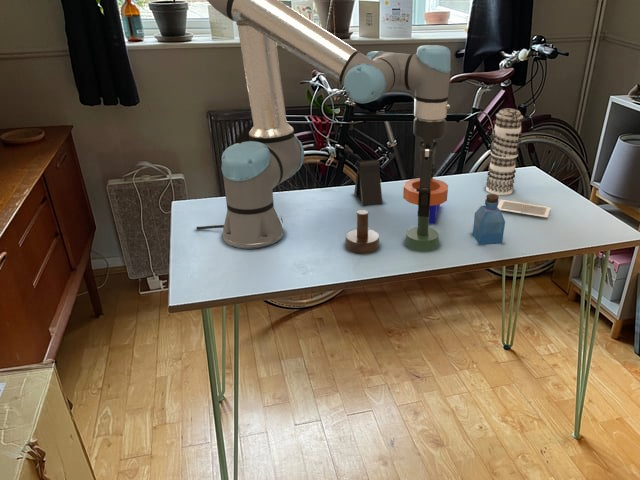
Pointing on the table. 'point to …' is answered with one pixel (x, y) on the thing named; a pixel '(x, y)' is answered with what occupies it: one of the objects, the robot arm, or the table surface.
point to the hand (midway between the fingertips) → (424, 206)
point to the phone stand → (368, 182)
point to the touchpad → (524, 208)
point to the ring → (436, 196)
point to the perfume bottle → (489, 222)
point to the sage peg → (422, 236)
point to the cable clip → (433, 213)
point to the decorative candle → (504, 151)
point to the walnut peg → (362, 236)
